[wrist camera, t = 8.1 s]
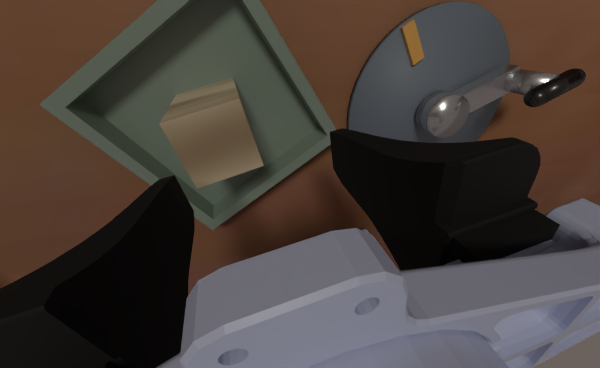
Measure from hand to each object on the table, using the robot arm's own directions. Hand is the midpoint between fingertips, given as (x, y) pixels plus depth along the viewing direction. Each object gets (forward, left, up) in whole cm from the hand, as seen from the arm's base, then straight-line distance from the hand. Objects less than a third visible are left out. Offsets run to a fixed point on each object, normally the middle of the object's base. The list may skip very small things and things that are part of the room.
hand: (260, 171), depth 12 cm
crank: (-10, -17, -8) cm, 22 cm away
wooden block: (+1, +1, -9) cm, 9 cm away
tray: (+1, +1, -9) cm, 10 cm away
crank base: (-10, -14, -9) cm, 19 cm away
